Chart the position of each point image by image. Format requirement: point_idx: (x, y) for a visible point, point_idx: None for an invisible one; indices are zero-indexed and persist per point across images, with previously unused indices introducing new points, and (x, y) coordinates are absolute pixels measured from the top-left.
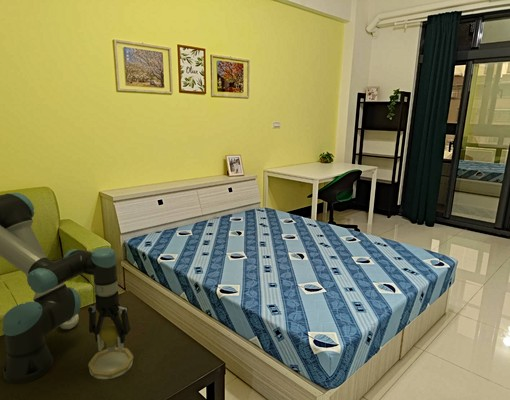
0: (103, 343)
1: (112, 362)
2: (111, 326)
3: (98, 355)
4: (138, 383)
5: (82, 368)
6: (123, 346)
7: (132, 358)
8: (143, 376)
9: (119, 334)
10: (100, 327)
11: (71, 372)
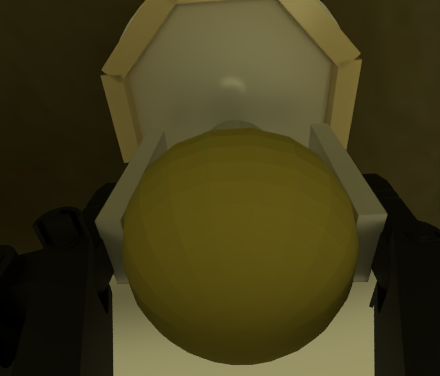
0: (159, 151)
1: (235, 106)
2: (272, 350)
3: (125, 81)
4: (407, 196)
5: (103, 153)
6: (331, 129)
7: (357, 73)
8: (427, 156)
9: (379, 298)
10: (98, 312)
11: (76, 182)
